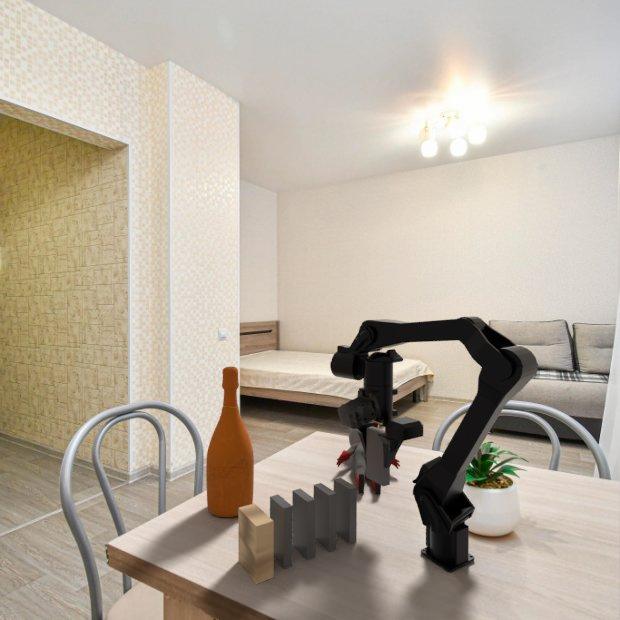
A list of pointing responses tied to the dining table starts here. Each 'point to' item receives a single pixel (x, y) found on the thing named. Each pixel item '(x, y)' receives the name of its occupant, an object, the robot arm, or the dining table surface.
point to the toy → (359, 461)
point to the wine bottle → (229, 456)
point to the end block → (256, 542)
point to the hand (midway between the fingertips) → (377, 463)
